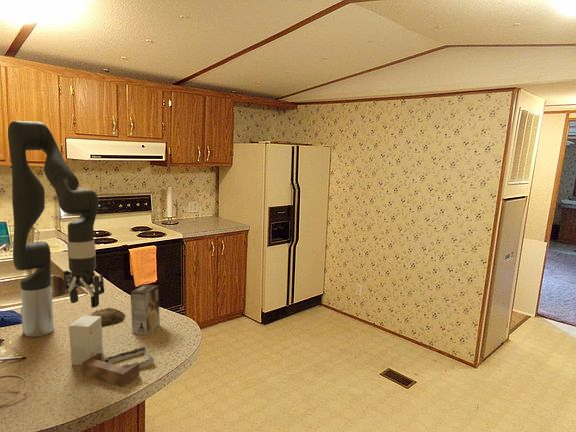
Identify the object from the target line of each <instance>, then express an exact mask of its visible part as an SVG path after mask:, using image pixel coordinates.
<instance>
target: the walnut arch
mask: <svg viewBox="0 0 576 432" xmlns="http://www.w3.org/2000/svg"><path fill="white" fill-rule="evenodd" d="M134 363H135V364H134V365H132V366H131V367H129V368H125V367H121V366H122V365H121V366H120V365H118V364H117V365H116V364H113V363H107V362H105V361H103V353H98V354H96V355H94V356H93V357H91V358H89V359H87V360H85V361H84V362H82V365H81V368H82V369H81V370H82V375H83V376H86V377H87V378H92V379H95V380H99V381H102V382H105V383H108V384H112V385H114V386H119V387H122V388H125V387H126V386H127V385H128V384H130V383H132V382H133V381H134V380H136V379H137V378H139V377H140V368H139V363H140V362H139V363H137V362H134Z"/></svg>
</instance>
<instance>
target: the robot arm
mask: <svg viewBox="0 0 576 432" xmlns="http://www.w3.org/2000/svg"><path fill="white" fill-rule="evenodd" d="M7 140H8V149H9V156H10V164H11V165H10V166H11V182H12V183H11V187H12V188H11V191H12V192H11V196H12V197H11V199H12V213H13V214H12V216H13V243H12V246H13V247H12V262H13V264H14V267H15V270H18V271H28V270H33V269H36V270H35V271H34V272H33V273H31V274H30V275H27V276H25V277H24V278H22V279H21V281H20V293H21V294H20V295H21V296H20V297H21V308H20V313H21V314H20V315H21V328H22V329H21V330H22V333H23V334H24V336H25V337H28V338H37V337H42V336H46V335H48V334H51V333H52V332H53V331H54V330H55V322H54V310H53V309H54V308H53V306H54V305H53V294H52V293H53V292H52V270H51V268H52V267H51V264H52V262H51V260H52V259H51V256H52V254H51V248H50V245H49V243H47V242H46V241H43V240H42V241H35V242H34V241H33V242H27V240H28V237H29V233H30V232H31V230H32V228H33V227H34V226H35V224H36V222H37V221H38V220H39V218H40V217H41V215H42V214H43V213H44V210H45V208H46V204H45V203H46V202H45V201H46V200H45V199H46V197H45V196H46V195H45V194H46V192H45V187H44V185H43V184H42V181H40V180H39V178H38V177H37V175H36V174H35V173H34V172H33V170H32V169H31V167H30V166H29V163H28V160H27V153H26V152H27V151H43V153H44V154H45V155H46V158H45V161H44V167H43V171H44V174H45V177H46V179H47V180H48V182H49V183H50V184H51V186H52V187H53V189H54V191H55V194H56V196H57V197H56V198H57V202H58V205H59V208H60V209H61V211H62V212H64V213H65V214H68V215H77V214H80V215H79V217H78V218H76V219H75V220H72V221H71V222H68V224H67V240H68V241H67V256H68V257H67V258H68V269H67V270H64V271H63V288H64V290H67V291H68V293H69V300H70V303H71V304H76V303H77V302H79V290H78V288H79V287H82V288H85V290H86V291H87V292H89V294H90V306H91V307H90V308H92V309H93V308H97V307H99V305H100V295H102V294H105V283H104V275H103V274H95V269H97V257H96V243H95V234H94V233H95V232H94V225H95V221H96V218H97V217H96V216H97V212H98V209H99V197H98V195H97V193H96V191H94V190H92V189H90V188H89V189H87V188H85V189H78V188H79V186H80V182H79V179H78V178H77V176H76V174H75V173H74V172H73V170H72V169H71V168H70V167H69V165H68V164H67V162H66V161H65V158H64V156H63V155H62V152H61V151H60V149H59V146H58V144H57V142H56V139H55V138H54V135H53V133H52V132H51V129H50V128H49V127H48V125H46V124H45V123H44V122H41V121H30V120H29V121H28V120H27V121H25V120H13V121H11V122H10V123H9V124H8V128H7Z"/></svg>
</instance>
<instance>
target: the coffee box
mask: <svg viewBox="0 0 576 432" xmlns="http://www.w3.org/2000/svg"><path fill="white" fill-rule="evenodd" d="M159 287H160V286H159V285H157V284H156V285H154V284H142V285H140V286H139V287H137V288H135V289H134V290H132V291H130V308H131V309H130V310H131V330H132V331H131V333H133V334H137V335H144V336H145V335H146V336H148V335H150V333H152V332H153V331H154V330H155V329H156V328H157V327H159V326H160V323H161V322H160V291H159V289H160V288H159Z"/></svg>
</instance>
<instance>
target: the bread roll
mask: <svg viewBox="0 0 576 432" xmlns="http://www.w3.org/2000/svg"><path fill="white" fill-rule="evenodd" d="M89 316H101V324H102V327H104V325H105V326H110V324H111V325H113V323H114V324H118V323H120V321H121V322H122V321H123V320H124V317H125V316H126V314H125V313H124V312H122V311H121V310H118V309H116V308H112V307H105V308H103V309H102V308H101V309H99V310H98V309H97V310H95V311H93V312H92V313H91V314H90V315H89ZM117 322H118V323H117Z"/></svg>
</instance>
